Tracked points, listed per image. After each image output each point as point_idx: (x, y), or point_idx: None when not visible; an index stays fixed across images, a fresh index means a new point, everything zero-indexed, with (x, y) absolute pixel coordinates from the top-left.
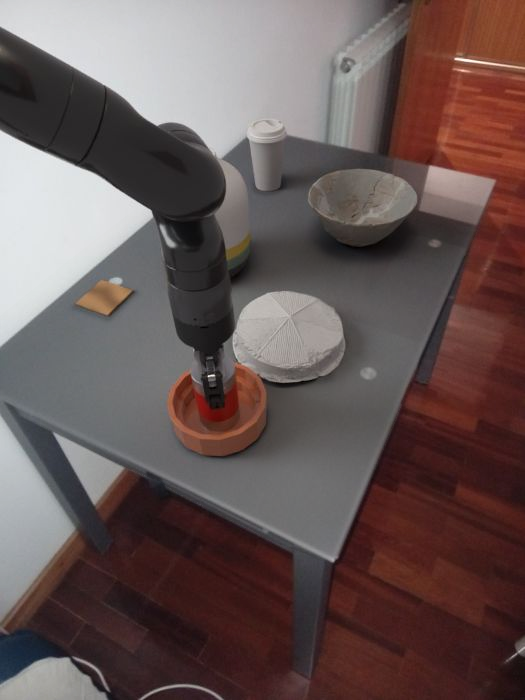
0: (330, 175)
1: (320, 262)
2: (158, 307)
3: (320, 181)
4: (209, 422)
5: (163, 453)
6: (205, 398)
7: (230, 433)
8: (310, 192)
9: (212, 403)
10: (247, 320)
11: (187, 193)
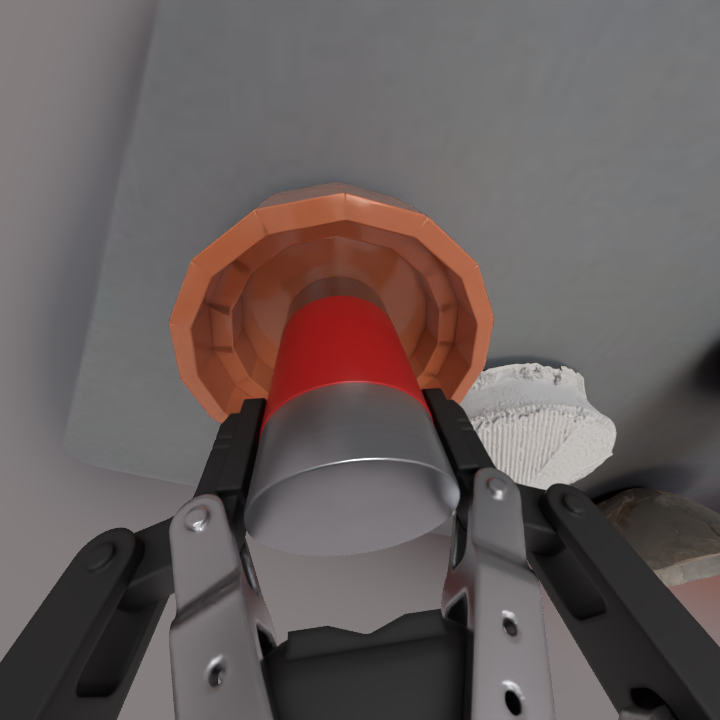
0: None
1: (608, 471)
2: None
3: None
4: (287, 321)
5: (207, 134)
6: (88, 571)
7: (207, 400)
8: None
9: (210, 458)
10: (566, 433)
11: None
